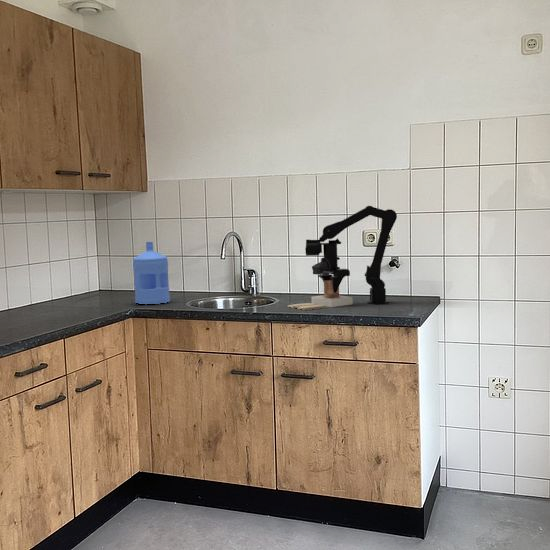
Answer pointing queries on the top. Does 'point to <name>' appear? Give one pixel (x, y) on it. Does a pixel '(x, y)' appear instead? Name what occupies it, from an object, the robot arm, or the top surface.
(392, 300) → the top surface
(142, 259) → the water jug
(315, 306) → the slatted wooden trivet
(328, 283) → the terracotta peg
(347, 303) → the pocket plate
